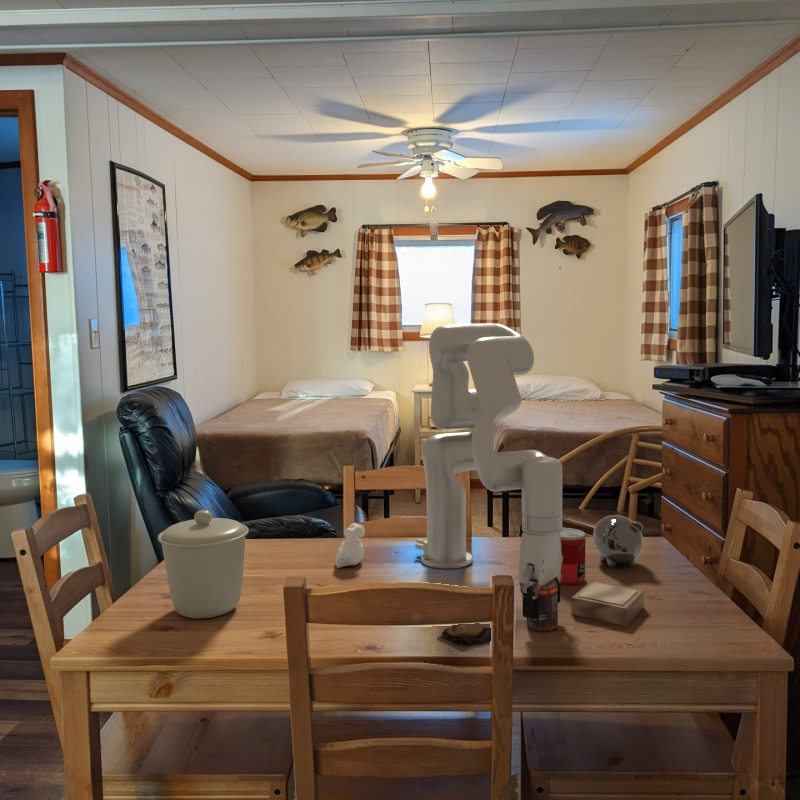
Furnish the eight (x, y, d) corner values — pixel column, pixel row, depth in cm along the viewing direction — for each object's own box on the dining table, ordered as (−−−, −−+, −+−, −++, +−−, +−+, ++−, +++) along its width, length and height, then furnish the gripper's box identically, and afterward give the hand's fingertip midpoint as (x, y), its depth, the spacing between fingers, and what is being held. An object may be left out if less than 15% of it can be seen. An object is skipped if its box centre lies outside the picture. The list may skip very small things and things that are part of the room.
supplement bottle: (557, 621, 146) (557, 564, 145) (558, 633, 140) (558, 575, 139) (526, 619, 147) (526, 563, 146) (526, 631, 141) (526, 573, 140)
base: (571, 614, 149) (571, 596, 148) (591, 597, 158) (591, 580, 157) (626, 626, 143) (626, 607, 142) (643, 607, 151) (643, 590, 151)
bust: (344, 580, 177) (371, 545, 175) (319, 560, 178) (346, 525, 176) (358, 564, 189) (383, 531, 186) (335, 545, 190) (360, 512, 187)
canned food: (585, 586, 164) (586, 537, 163) (548, 584, 166) (549, 536, 165) (584, 575, 172) (584, 528, 171) (549, 573, 173) (549, 527, 172)
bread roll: (463, 656, 133) (463, 636, 132) (432, 640, 139) (432, 621, 139) (505, 639, 139) (505, 620, 139) (474, 625, 146) (474, 607, 145)
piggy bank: (607, 575, 171) (608, 526, 170) (584, 555, 186) (584, 510, 185) (654, 572, 172) (655, 524, 171) (627, 553, 187) (628, 508, 186)
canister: (219, 632, 144) (214, 525, 141) (142, 620, 150) (137, 518, 148) (267, 599, 160) (264, 503, 158) (196, 590, 167) (192, 497, 164)
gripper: (542, 510, 150) (542, 592, 152) (503, 530, 136) (503, 620, 138) (578, 514, 146) (577, 599, 148) (541, 536, 132) (541, 629, 134)
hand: (541, 609), depth 143 cm, fingers open, 9 cm apart
